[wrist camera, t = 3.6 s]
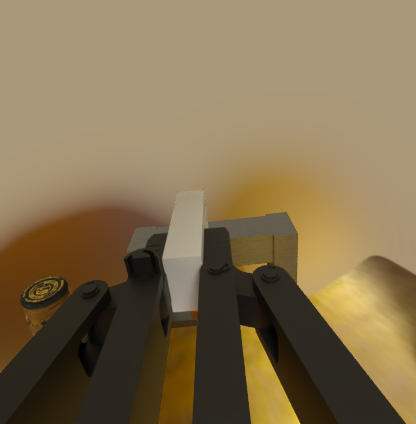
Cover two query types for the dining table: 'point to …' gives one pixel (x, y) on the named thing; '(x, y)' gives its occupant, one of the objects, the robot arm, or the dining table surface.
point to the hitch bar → (242, 247)
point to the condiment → (44, 301)
